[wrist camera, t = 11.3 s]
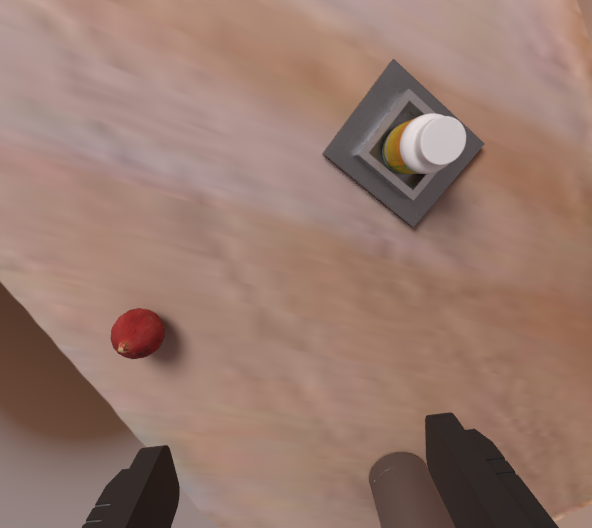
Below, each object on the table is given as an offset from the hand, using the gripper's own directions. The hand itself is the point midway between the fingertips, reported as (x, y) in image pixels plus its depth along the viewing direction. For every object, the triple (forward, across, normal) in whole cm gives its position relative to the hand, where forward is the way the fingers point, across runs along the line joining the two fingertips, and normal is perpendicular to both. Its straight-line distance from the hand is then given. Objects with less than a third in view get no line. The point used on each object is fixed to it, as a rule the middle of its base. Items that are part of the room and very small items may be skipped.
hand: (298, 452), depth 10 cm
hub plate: (+32, -14, -10) cm, 37 cm away
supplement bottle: (+31, -14, -10) cm, 36 cm away
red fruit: (+32, +19, +8) cm, 39 cm away
